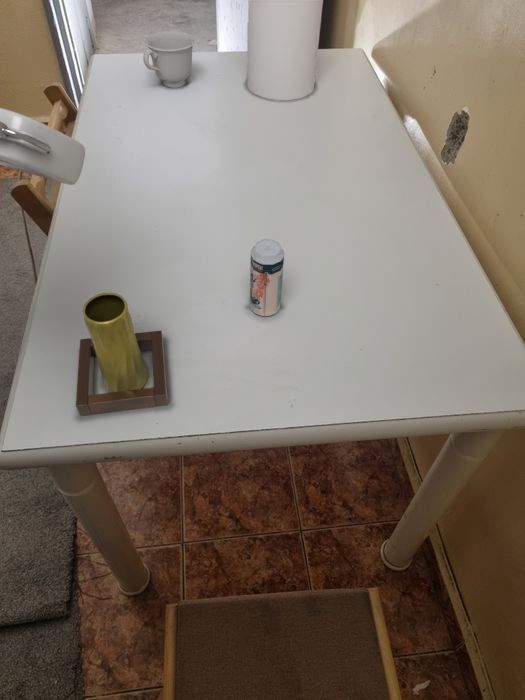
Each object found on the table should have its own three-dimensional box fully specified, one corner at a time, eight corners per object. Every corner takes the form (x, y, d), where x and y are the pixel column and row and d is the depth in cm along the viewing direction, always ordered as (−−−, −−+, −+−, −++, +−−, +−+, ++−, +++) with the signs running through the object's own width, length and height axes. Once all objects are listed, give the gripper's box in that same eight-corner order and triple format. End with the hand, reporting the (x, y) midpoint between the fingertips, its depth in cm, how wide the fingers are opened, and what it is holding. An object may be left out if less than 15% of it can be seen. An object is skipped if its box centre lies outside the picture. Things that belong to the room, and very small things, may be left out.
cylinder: (322, 97, 129) (338, -39, 108) (255, 102, 126) (257, -36, 105) (303, 68, 140) (314, -61, 118) (241, 72, 137) (240, -59, 115)
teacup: (132, 87, 130) (125, 44, 122) (173, 68, 137) (169, 26, 130) (167, 102, 125) (162, 58, 117) (207, 81, 133) (205, 39, 125)
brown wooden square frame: (80, 416, 68) (75, 406, 66) (84, 350, 75) (79, 339, 74) (168, 405, 70) (165, 394, 68) (163, 341, 77) (161, 330, 75)
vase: (94, 385, 72) (67, 314, 61) (121, 355, 75) (101, 283, 64) (130, 403, 70) (109, 333, 59) (156, 371, 73) (141, 300, 62)
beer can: (246, 299, 83) (246, 240, 74) (274, 294, 84) (278, 234, 75) (255, 321, 80) (256, 261, 71) (284, 314, 81) (289, 255, 72)
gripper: (26, 86, 35) (127, 151, 49) (-190, 31, 40) (-43, 104, 53) (4, 177, 36) (110, 216, 50) (-205, 113, 41) (-57, 165, 54)
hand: (29, 158), depth 52 cm, fingers open, 8 cm apart
